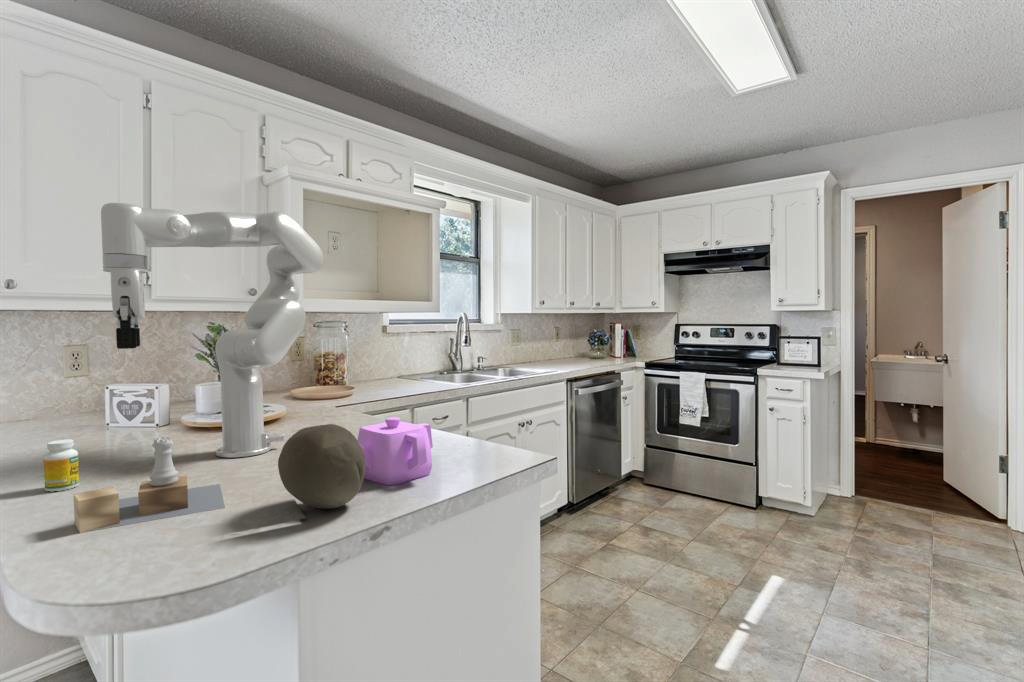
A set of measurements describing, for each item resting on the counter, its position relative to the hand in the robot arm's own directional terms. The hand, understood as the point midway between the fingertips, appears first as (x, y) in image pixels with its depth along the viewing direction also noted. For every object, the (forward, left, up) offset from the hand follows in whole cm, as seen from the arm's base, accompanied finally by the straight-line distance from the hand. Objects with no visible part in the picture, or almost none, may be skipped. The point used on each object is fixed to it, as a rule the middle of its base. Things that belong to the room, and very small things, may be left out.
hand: (129, 347), depth 109 cm
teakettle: (-47, +25, -29) cm, 60 cm away
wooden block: (-6, +24, -28) cm, 37 cm away
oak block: (+3, +28, -28) cm, 39 cm away
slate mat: (-5, +23, -28) cm, 37 cm away
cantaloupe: (-30, +39, -28) cm, 57 cm away
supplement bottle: (+12, -3, -28) cm, 31 cm away
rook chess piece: (-6, +24, -24) cm, 34 cm away
